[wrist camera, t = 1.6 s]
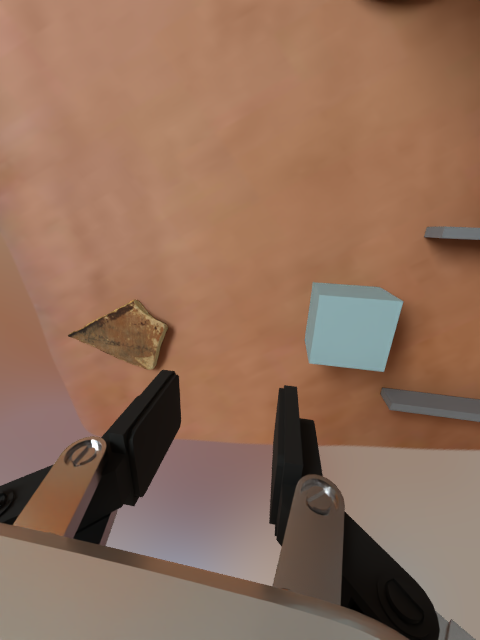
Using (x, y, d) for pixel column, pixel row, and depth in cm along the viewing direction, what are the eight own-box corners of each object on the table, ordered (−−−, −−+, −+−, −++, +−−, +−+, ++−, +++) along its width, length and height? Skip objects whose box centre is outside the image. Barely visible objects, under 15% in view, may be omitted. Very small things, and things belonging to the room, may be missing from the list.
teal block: (312, 282, 24) (319, 294, 19) (379, 286, 23) (403, 301, 19) (304, 339, 26) (309, 363, 22) (365, 345, 25) (383, 371, 21)
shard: (76, 331, 31) (65, 337, 29) (85, 273, 28) (73, 276, 26) (157, 366, 31) (150, 374, 29) (174, 312, 28) (167, 318, 26)
